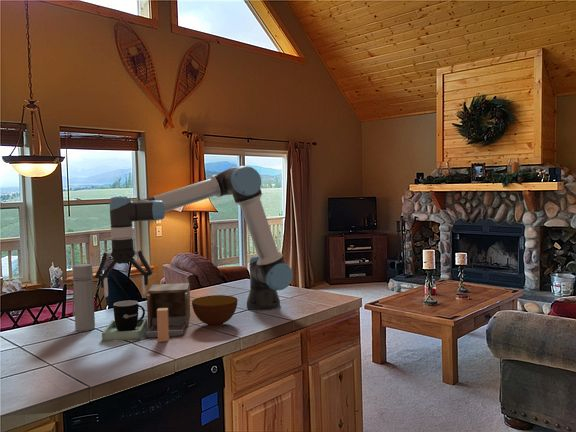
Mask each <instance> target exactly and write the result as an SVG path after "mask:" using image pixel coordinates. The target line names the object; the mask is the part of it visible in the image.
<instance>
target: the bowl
mask: <svg viewBox="0 0 576 432" xmlns="http://www.w3.org/2000/svg"><path fill="white" fill-rule="evenodd" d="M238 301H239V299H238V298H237V297H235V296H232V295H223V294H216V295H205V296H198V297H197V298H195V299H192V301H191V307H192V310H193V313H194V314H195V316H196V318H197V319H198V320H199V321H200V322H202V323H204V324H206V325H207V327H208V328H210V329H211V328H212V329H215V328H221V327H224V324H225V323H227V322H228V321H229V320H231V318H232V317H233V316H234V314H235V312H236V310H237V308H238Z"/></svg>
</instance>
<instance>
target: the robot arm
mask: <svg viewBox="0 0 576 432" xmlns="http://www.w3.org/2000/svg"><path fill="white" fill-rule="evenodd" d="M261 186H262V177H261V175H260V173H259V172H258V170H257V169H255V168H253V167H251V166H249V165H239V166H232V167H230V168H227V169H225V170H223V171H220V172H218V173H215V174H213V175H211V176H210V177H209V179H206V180H201V181H198V182H195V183H192V184H189V185H186V186H183V187H179V188H175V189H172V190H170V191H166V192H163V193H161V194H156V195H154V196H150V197H147V198H144V199H138V200H133V201H132V199H131V196H112V197H111V198H110V199H109V217H110V237H111V238H112V239H111V249H112V250H111V252H108V251H105V252H103V254H102V259H101V262H100V264H99V267H98V268H97V271H96V273H95V275H94V277H95V279H99V280H100V287H101V289H103V291H104V295H103V296H104V298H107V297H108V296H109V286H108V285H109V284H108V277H107V275H109V273H110V272H111V271H112V269H113V268H114V267H115V266H116V264H118V265H122V264H125V265H126V264H129V263H130V265H133V267H134V268H135V269H136V270H137V271H138V272H139V273H140V274H141V275H142V277H141V283H142V284H141V285H142V287H141V289H142V295H143V296H144V295H146V294H147V289H146V286H148V285H149V276H151V275H152V274H153V273H154V271H153V269H152V268H151V266H150V264H149V262H148V261H147V260H146V258H145V256H144V251H143V250H142V249H140V250H137V251H136V250H135V249H134V239H133V237H134V232H133V223H134V222H148V221H149V222H151V221H155V222H156V221H161V220H164V219H165V217H166V212H170V211H173V210H176V209H178V208H182V207H185V206H188V205H191V204H194V203H197V202H200V201H203V200H207V199H210V198H213V197H216V198H220V197H224V196H228V195H232V197H233V200H234V203H235V204H237V205H239V206H240V209H241V212H242V215H243V217H244V221H245V223H246V225H247V229H248V231H249V234H250V235H249V236H250V237H251V240H252V243H253V246H254V249H255V251H256V255H257V256H251V257H250V259H249V264H248V265H249V287H250V290H249V293H248V297H247V299H246V308H248V309H250V310H254V311H255V310H257V311H266V310H267V311H268V310H269V311H270V310H274V309H277V308H279V307H281V299H280V297H279V294H278V291H283V290H285V289H286V288H288V287H289V286H290V285H291V282H292V280H293V276H294V275H293V274H294V273H293V269H292V268H291V266H290V265H289V264H287V263H286V260H285V257H284V254H283V253H281V252H280V251H278V248H277V245H276V241H275V239H274V236H273V234H272V233H273V232H272V231H271V230H272V229H271V227H270V225H269V221H268V219H267V215H266V213H265V210H264V207H263V203H262V201H261V197H262V195H263V193H262V189H261ZM135 256H137V257H138V258H139V260H140V262H141V263H142V265H143V267H144V268H145V269H144V268H143V267H142V266H141V265H140V263H138V262H137V261H136V259H135V258H134V257H135ZM111 257H112V259H113V261H112V262H111V263H110V265H109V266H108V267H107V268H106V270H105V271H104V272H103V270H104V267H105V265H106V263H107V262H108V259H109V258H111Z"/></svg>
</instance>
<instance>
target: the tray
mask: <svg viewBox="0 0 576 432" xmlns="http://www.w3.org/2000/svg"><path fill="white" fill-rule="evenodd" d="M139 319H140V318H138V320H139ZM146 329H148V318H143V319H142V320H141V321H139V322H138V323H137V326H136V329H135V330H133V331H118V330H117V328H116V324H115V320H111V321H110V322H109V324H108V325H107V326H106V328H105V329H104V330H103V331H102V333H101V341H102V342H111V341H112V342H114V340H118V341H131V340H133V341H134V340H135V341H136V340H142V337H143V335H144V334H145V332H146V331H147V330H146Z"/></svg>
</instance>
